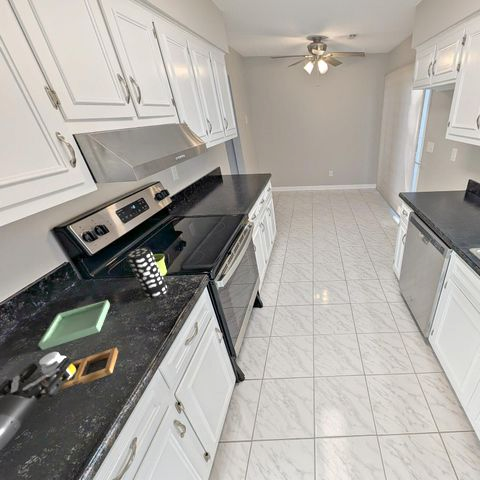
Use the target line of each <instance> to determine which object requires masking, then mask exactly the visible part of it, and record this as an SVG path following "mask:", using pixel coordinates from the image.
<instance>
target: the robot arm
mask: <svg viewBox="0 0 480 480" xmlns="http://www.w3.org/2000/svg"><path fill="white" fill-rule="evenodd" d="M65 357H66V358H64V359H63V360H62V361H61V363H60V364H59V365H58V366H57V367H56V369H55V370H54V371H52V372H51V373H49V374H48V375H44V374H43V375H42V376H40V377H39V378H38V379H33V380H29V379H30V378H31V377H32V376H33V374H34V373H35V372H36V371H37V370H38V368H39V367H38V365H37V364H36V363H35V362H33V363H29V364H28V366H26V367H25V368H24V369H23V370H22V371H21V372H20V373H19V374H18V375H15V376H14V377H13V378H12V379H10V378H8V379H5V380H4V381H3V382H2V383H1V384H0V452H1V451H2V450H3V448H5V446H6V445H7V444H8V443H10V442H11V440H12V439H13V437H14V436H15V435H16V433H17V432H18V431H19V429H20V428H21V427H22V426H23V425H24V423H25V422H26V421H27V419H28V418H29V416H30V415H31V414H32V413H33V412H34V410H35V406H36V403H37V401H38V400H39V399H40V398H43V397H44V396H43V395H45V396H48V397H50V398H52V397H55V395H57V393H58V392H59V391H60V390H59V389H60V388H61V387H62V385H63V384H64V383H65V382H66V380H67V379H68V378H69V377H70V374H69V373H68V372H67V371H66V370H67V368H68V367H69V366H70V365H71V363H72V362H73V361H72V359H71V358H70V357H69V356H65ZM55 374H56V375H57V376H56V377H55V378H53V379H51V377H52V376H54V375H55ZM62 377H63V378H62ZM61 378H62V379H61ZM45 380H46V381H47V382H48V384H47V385H45V386H44V382H45ZM5 388H6V389H5ZM58 390H59V391H58ZM42 396H43V397H42Z"/></svg>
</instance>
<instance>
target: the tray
mask: <svg viewBox="0 0 480 480" xmlns="http://www.w3.org/2000/svg"><path fill="white" fill-rule="evenodd" d="M110 306H111V303H110V301H109V300H108V299H105V300H102V301H98V302H95V303H91V304H88V305H84V306H81V307H77V308H74V309H70V310H67V311H64V312H60V313H57V314H56V316H55V318H53V321H52V322H51V324H50V325H49V326H48V328H47V330H46V331H45V333H44V334H43V336H42V337H41V339H40V341H39V343H38V344H37V346H38V347H39V348H40V349H41V350H42V351H44V350H47V349H51V348H54V347H56V346H59V345H63V344H66V343H70V342H72V341H76V340H78V339H82V338H84V337H87V336H91V335H94V334H98V333H100V332H101V330H102V327H103V325H104V322H105V319H106V318H107V317H106V316H107V314H108V312H109V309H110Z"/></svg>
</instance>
